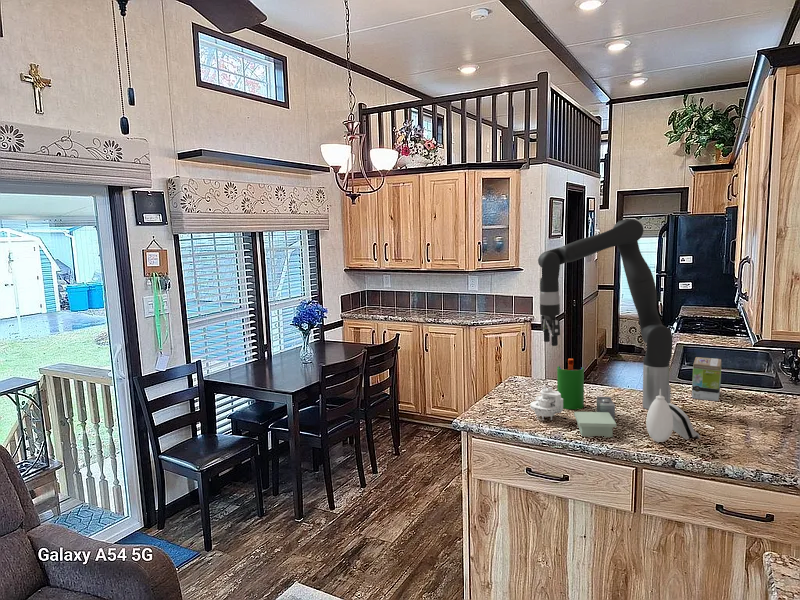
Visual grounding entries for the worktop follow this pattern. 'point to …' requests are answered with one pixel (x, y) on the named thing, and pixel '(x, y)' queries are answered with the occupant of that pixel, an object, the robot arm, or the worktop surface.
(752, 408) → the worktop surface
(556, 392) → the mechanical part
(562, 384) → the motor
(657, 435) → the sauce bottle
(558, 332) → the robot arm
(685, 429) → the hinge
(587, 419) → the stand
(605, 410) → the housing
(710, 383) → the tea box
